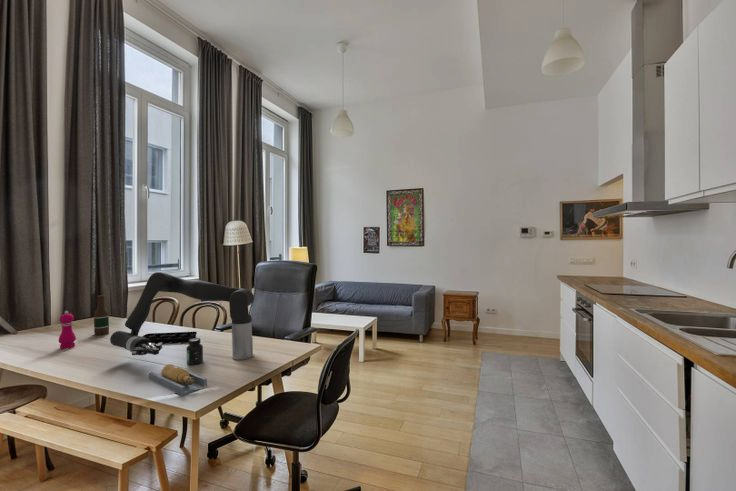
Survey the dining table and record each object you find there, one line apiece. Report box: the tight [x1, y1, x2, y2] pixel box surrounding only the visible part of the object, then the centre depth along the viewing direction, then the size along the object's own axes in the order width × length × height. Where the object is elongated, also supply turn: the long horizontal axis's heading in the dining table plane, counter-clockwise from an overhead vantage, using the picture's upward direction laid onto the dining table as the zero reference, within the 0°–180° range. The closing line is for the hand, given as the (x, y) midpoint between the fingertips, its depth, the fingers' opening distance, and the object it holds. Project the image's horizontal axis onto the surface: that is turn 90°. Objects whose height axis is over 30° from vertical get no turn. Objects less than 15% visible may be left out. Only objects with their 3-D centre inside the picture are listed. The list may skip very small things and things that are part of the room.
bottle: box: [160, 363, 195, 385], centre depth 142 cm, size 6×6×18 cm
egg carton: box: [141, 331, 198, 345], centre depth 204 cm, size 18×30×4 cm, turn 108°
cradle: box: [148, 370, 208, 398], centre depth 143 cm, size 26×10×4 cm, turn 55°
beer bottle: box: [93, 294, 110, 336], centre depth 221 cm, size 8×8×24 cm
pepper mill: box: [58, 310, 77, 350], centre depth 194 cm, size 7×7×20 cm
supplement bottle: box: [185, 337, 204, 367], centre depth 164 cm, size 7×7×12 cm
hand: (156, 352), depth 152 cm, fingers closed
